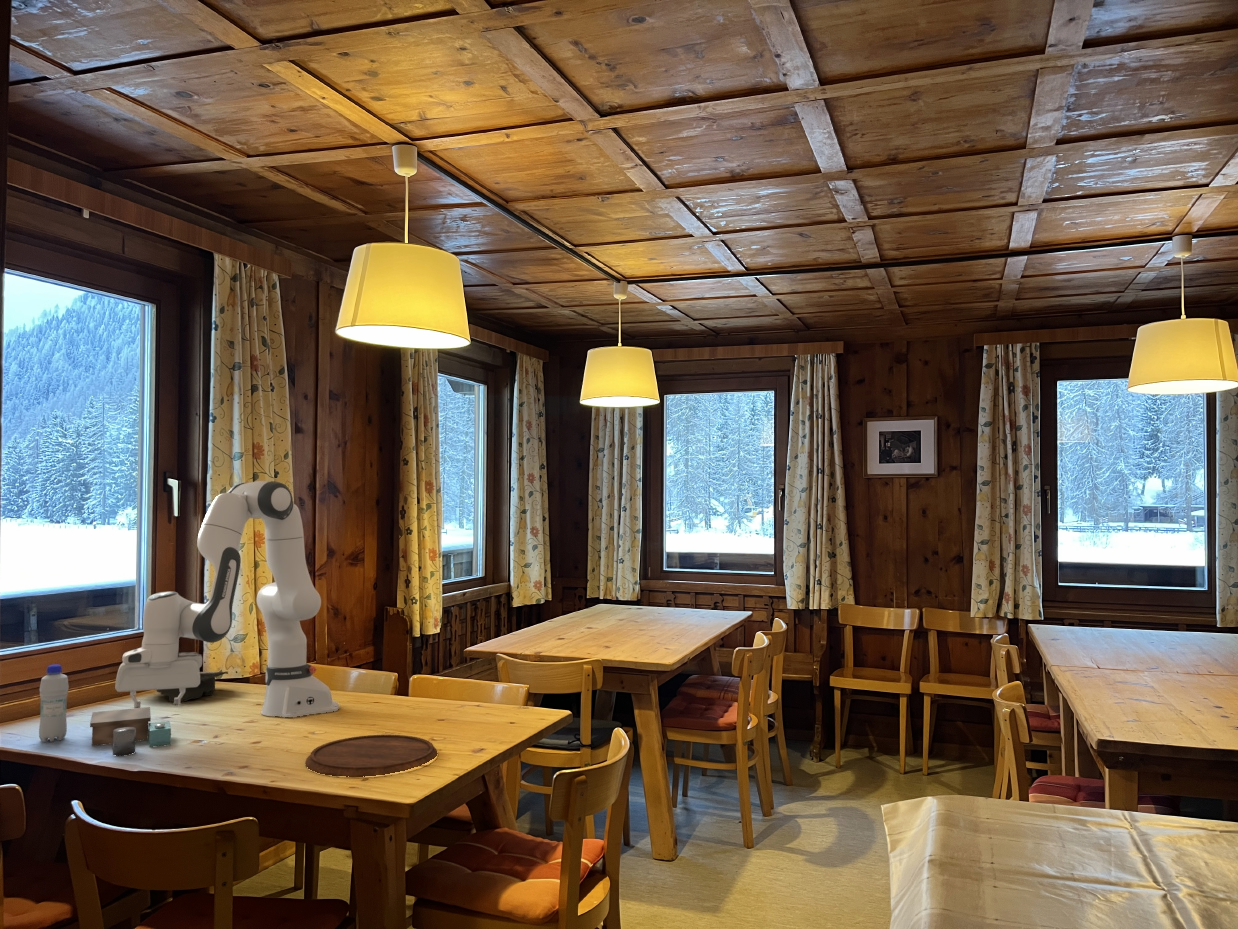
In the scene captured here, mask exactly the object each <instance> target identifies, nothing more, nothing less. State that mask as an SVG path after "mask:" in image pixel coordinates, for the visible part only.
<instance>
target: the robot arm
mask: <svg viewBox="0 0 1238 929" xmlns="http://www.w3.org/2000/svg"><path fill="white" fill-rule="evenodd" d="M300 512H301V511H300V509H299V507H298V506H297V505H296V504H295V503H294V499H293V493H292V492H291V490H290V489H289V487H288V486H287V485H286V484H285V483H283V482H279V481H267V480H266V481H265V480H256V481H251V482H250V481H249V482H241V483H237V484H235V485H234V486H232V487H231V488H229V489H228V491H227V492H223V493H220V494H218V495H216V497H215V498H214V500H213V501H212V503H211V505H210V506H209V508H208V509H207V512H206V514H205V516H204V518H203V522H202V523H201V527H200V529H199V532H198V536H197V542H196V547H197V549H198V551H199V553H200V555H201V556H202V557H203V558H204V559H206V560H207V561H208V562H209V563H211V566H213V568H214V577H213V582H212V586H211V591H210V594H209V599H208V601H207V602H206V603H200V602H194V601H192V600H188V599H187V598H184V596H181V595H180V594H179V593H178V592H176V591H160V592H157V593H154V594H151V595H150V596H148V598H147V599H146V602H145V605H144V609H143V616H142V617H143V618H142V629H143V638H142V641H141V647H139V648H136V649H132V650H129V651H126V652H124V653H123V655H122V658H121V660H122V663H121V664H120V665H119V668H118V670H117V674H116V676H115V677H116V678H115V688H114V689H115V690H116V691H117V692H118V693H123V692H130V693H129V696H130V698H131V699H132V701H133V703H134V705H133V706H134V707H133V708H141V704H142V703H141V702H142V701H141V699H137V696H136V695H137V692H138V691H139V692H140V691H155V690H156V691H157V690H158V689H174V688H179V691H180V692H181V693H180V694H179V696H178V698H174V702H173V705H174V706H180V705H181V702H180V700H181V698H182V696H183V695H184V693H185V689H186V688H189V687H197V686H198V685H199V684H200V672H201V671H200V669H201V667H202V665H203V656H202V654H200V653H198V652H197V651H192V652H179V644H180V643H179V642H180V640H179V639H180V638H187V639H193V640H198V641H199V640H200V641H202V642H205V643H211V644H212V643H213V644H214V643H216V642H217V643H218V642H220V641H222V640H223V639H224V638H225V637H226V636H227V635H228V633H229V632H230V630H231V628H232V624H233V623H232V622H233V606H234V599H235V594H236V590H237V585H238V580H239V576H240V575H239V574H240V570H241V563H242V562H241V561H242V560H241V559H242V558H241V554H240V544H241V541H242V538H243V537H242V536H243V533H244V530H245V527H246V524H247V522H248V521H249V520H250V519H257V520H259V519H261V520H262V521H263V523H264V535H265V536H264V537H265V538H264V540H265V558H266V566H267V568H268V569H269V571H270V572H271V574H272V576H273V579H274V582H271V583H267V584H265V585H264V586H262V587H261V588H260V589H259V590H258V592H257V596H256V605H257V607H258V609H259V611H260V612H261V614H262V617H263V622H264V626H265V629H266V630H265V631H266V635H267V665H266V667H265V685H266V688H265V696H264V700H263V706H262V709H261V711H260V713H261V715H263V716H266V717H267V716H268V717H275V716H280V717H279V718H285V717H293V718H298V717H297V716H300V717H304V716H303V715H307V716H310V715H309V714H314V715H317V714H316V713H321V714H327V713H334V712H337V711H339V710H340V704H339V703H338V701H335V700H333V697H332V691H331V689H330V687H329V686H328V685H327V684H325V683H324V682H323V681H321V680H320V679H318V678H317V677H315V676H314V675H313V674H315V673H316V672H317V671H318V669H317V667H316V666H315V665H311V664H309V663H307V642H308V639H307V636H306V634H305V633H304V631H303V629H302V625H301V622H300V621H306V620H310V619H312V618H314V617H315V616H316V615H317V614H318V613H319V611H320V610H321V609H320V608H321V606H322V598H321V595H320V594H319V592H318V590H317V589H316V588H315V586H314V584H313V582H312V579H311V575H310V573H309V570H308V566H307V561H306V550H305V536H304V528H303V527H304V526H303V521H302V516H301V513H300ZM338 709H339V710H338ZM333 711H334V712H333ZM326 712H327V713H326ZM281 716H282V717H281Z"/></svg>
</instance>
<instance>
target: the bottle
mask: <svg viewBox="0 0 1238 929" xmlns="http://www.w3.org/2000/svg"><path fill="white" fill-rule="evenodd" d="M62 671H63V667H62V665H61V664H51V665H48V666H47V668H46V675H45V676H43V677H41V680H40V685H39V696H40V718H39V728H38V737H39V739H40V741H42V742H43V743H47V742H48V740H49V741H50V743H53V742H54V741H55V738H56V741H57V740H60V741H61V740H64V739H65V738H66V736H67V729H68V727H67V725H68V724H67V708H68V707H67V701H68V700H67V699H68V694H69V688H70V687H69V679H68V675H66V674H63V673H62ZM46 741H47V742H46Z"/></svg>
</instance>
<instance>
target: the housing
mask: <svg viewBox="0 0 1238 929" xmlns="http://www.w3.org/2000/svg"><path fill="white" fill-rule="evenodd" d="M171 736H172V727H171V723H170V720H167V721H157V722H148V740H147V741H149V742H148V748H154V747H153V746H157V747H164V745H166V746H171V744H172V742H171V741H172V740H171V739H172V737H171Z"/></svg>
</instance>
